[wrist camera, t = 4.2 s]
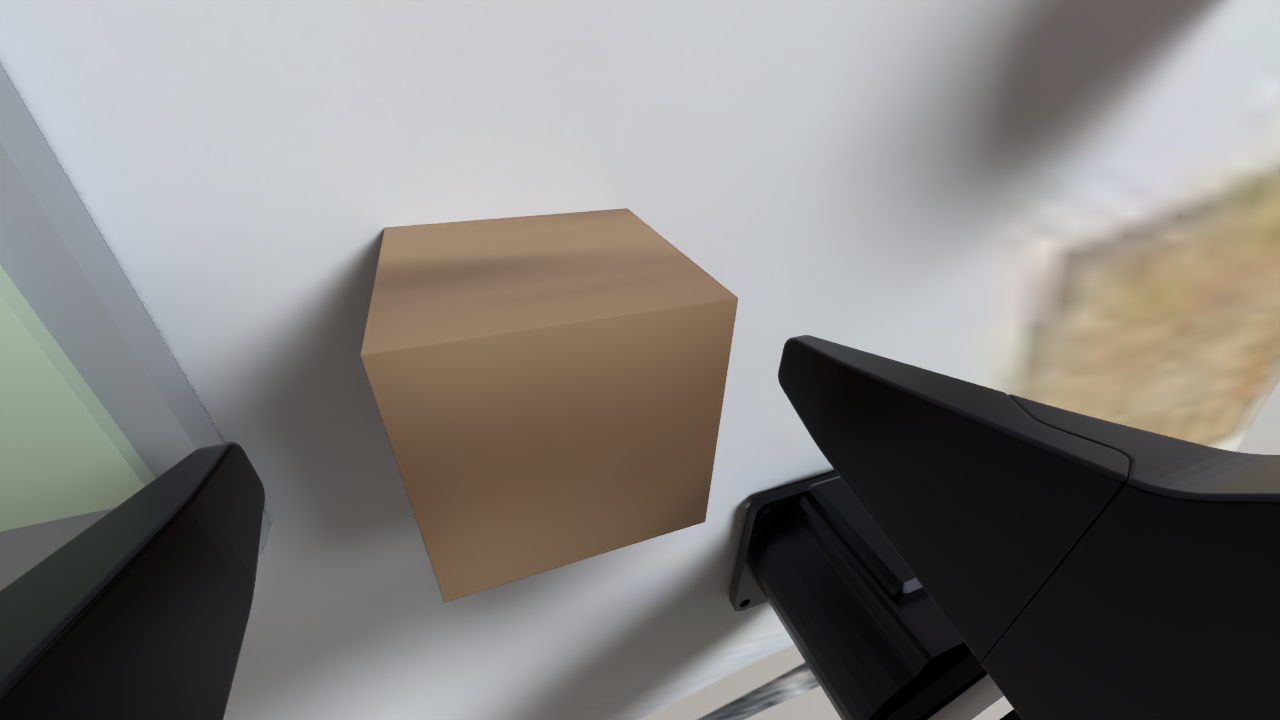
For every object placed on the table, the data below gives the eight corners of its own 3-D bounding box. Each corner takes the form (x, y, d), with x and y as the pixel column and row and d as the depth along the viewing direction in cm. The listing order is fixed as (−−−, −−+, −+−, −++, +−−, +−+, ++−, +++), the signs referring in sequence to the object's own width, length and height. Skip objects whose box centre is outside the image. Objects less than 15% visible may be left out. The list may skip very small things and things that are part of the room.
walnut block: (624, 385, 12) (705, 521, 9) (436, 422, 11) (444, 602, 7) (625, 207, 10) (737, 298, 6) (385, 226, 9) (359, 356, 5)
